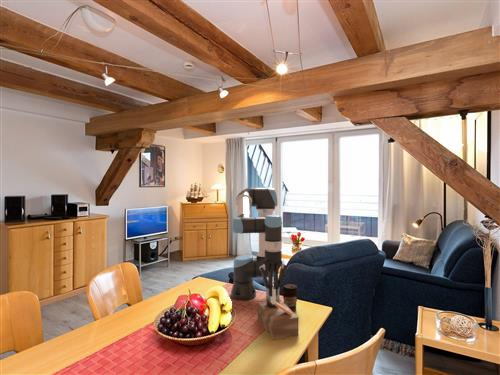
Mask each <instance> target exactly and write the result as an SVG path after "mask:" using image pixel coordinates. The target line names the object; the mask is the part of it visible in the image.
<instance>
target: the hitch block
mask: <svg viewBox="0 0 500 375" xmlns="http://www.w3.org/2000/svg"><path fill="white" fill-rule="evenodd" d="M280 304H281V305H282V306H284V307H285V308H287V309H288V310H289V311H290V312H291V313H292V316H291V315H289V314H288V313H286V312H284V311H283V310H281V309H280V308H278V307H277V308H269V307H267V306H266V300H265V301H258V302H257V318H258V321H259V322H260V323H261V325H262V326H263V328H264V329H265V331H266V332H267V334H268V336H270V338H271V339H272V340H273V341H276V340H281V339H285V338H286V339H287V338H291V337H298V336H299V335H300V334H299V333H300V332H299V316H298V315H297V314H296V312H293V311H292V310H291V309H290V308H288V307H287V306H286V305H285V304H284V301H283V300H282V299H280Z"/></svg>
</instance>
